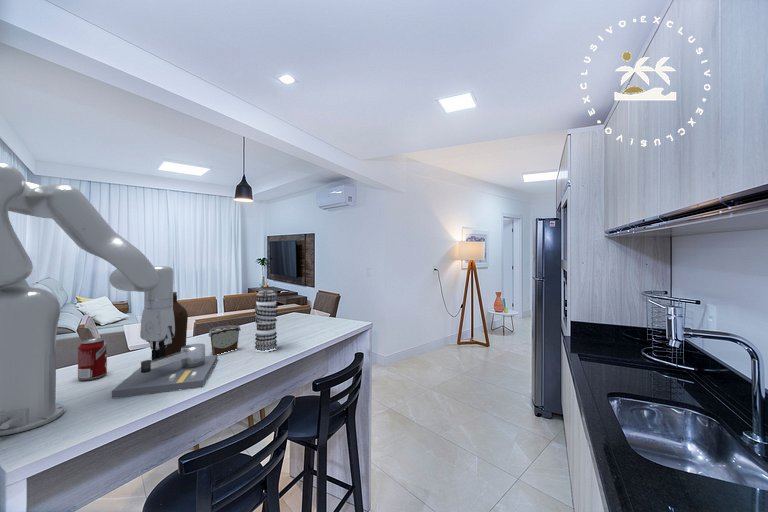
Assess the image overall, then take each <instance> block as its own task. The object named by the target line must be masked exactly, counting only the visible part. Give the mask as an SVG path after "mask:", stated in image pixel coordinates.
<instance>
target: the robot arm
mask: <svg viewBox="0 0 768 512" xmlns="http://www.w3.org/2000/svg"><path fill="white" fill-rule="evenodd" d="M9 212H12V213H17V214H20V215H25V216H29V217H35V218H41V219H50V220H51V219H52V220H53V221H54V222H55V224H57V225H58V226H59V227H60V228H61V230H62V231H63V232H64V233H65V234H66V235H67V236H68V238H70V240H71V241H73V242H74V244H75V245H76V246H78V248H80V249H81V250H83V251H85V252H86V253H88V254H90V255H93V256H96V257H97V258H100V259H102V260H104V261H106V262H108V263H109V264H110V265H111V266H113V267H114V268H115V269H114V270H113V271H112V272H111V273H110V274H109V280H108V281H109V283H110V285H111V286H112V287H113V288H115V289H117V290H119V291H123V292H139V293H144V297H143V298H144V300H143V304H144V305H143V310H142V314H141V319H140V331H139V332H140V333H139V334H140V338H141V339H142V340H144V341H145V342H147V343H149V346H150V349H151V360H154V359H158V358H161V357H164V356H165V348H166V347H167V344H170V343H172V338H173V337H174V335H175V320H174V312H173V292H174V269H173V268H172V266H165V265H164V266H163V265H161V266H160V265H159V266H157V265H156V266H155V265H153V264H152V262H151V261H150V260H149V258H148V257H146V255H145V254H144V253H142V251H141V250H140V249H139V248H138V247H136V246H135V245H133V244H132V243H131V242H129V241H128V240H127V239H125V238H124V237H123V236H121V235H120V234H119V233H117V232H116V231H115V230H114V229H113V228H112V227H111V225H109V223H108V222H107V221H106V219H104V217H103V216H102V215H101V214H100V212H99V211H98V210H97V209H96V208H95V207H94V205H93V204H92V203H91V202H90V200H89V199H88V198H87V196H85V195H84V194H83V192H82V191H80V190H79V189H78V188H76V187H75V186H73V185H69V184H62V183H56V184H48V185H42V184H38V183H35V182H34V183H33V182H29V181H26V179H25V176H24V175H23V173H22V172H21V171H20V170H19V169H18V168H16V167H15V166H13V165H11V164H9V163H5V162H2V161H0V436H1V437H2V436H9V435H13V434H17V433H22V432H26V431H30V430H32V429H35V428H39V427H40V426H44V425H46V424H48V423H51V422H53V421H54V420H55V421H56V420H57V419H58V418H60V417H61V416H62V415H63V414H64V413H65V406H64V405H63V404H59V403H57V402H56V399H57V398H56V397H57V396H56V393H57V391H56V389H57V388H56V387H57V385H56V384H57V331H58V326H59V321H60V315H61V303H60V301H59V299H58V298H57V296H56V295H55V294H53V293H52V292H50V291H48V290H46V289H45V288H39V287H31V286H30V285H29V283H28V281H27V278H29V277H30V275H31V274H32V272H33V268H34V267H33V262H32V260H31V259H32V258H30V256H29V254H28V253H27V251H26V249H25V248H24V246H23V244H22V242H21V241H20V239H19V237H18V235H17V234H16V231H15V229H14V227H13V225H12V222H11V220H10V217H9Z"/></svg>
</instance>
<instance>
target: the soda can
mask: <svg viewBox="0 0 768 512" xmlns="http://www.w3.org/2000/svg"><path fill="white" fill-rule="evenodd" d="M107 373H108V343H107V342H106V341H105V338H103V337H96V338H95V337H94V338H89V339H84V340H82V341H81V342H80V345H79V346H78V347H77V379H78V380H81V381H85V380H86V381H92V379H93V380H96V378H97V379H100V378H102V377H104V376H105V375H106V374H107Z"/></svg>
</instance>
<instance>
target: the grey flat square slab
mask: <svg viewBox="0 0 768 512" xmlns="http://www.w3.org/2000/svg"><path fill="white" fill-rule="evenodd" d="M216 361H217V362H218V355H205V363H204V364H202V365H200V366H196V367H190V368H184V367H181V360H178V361H175V362H172V363H169V364H166V365H163V366H160V367H157V368H154V369H151V371H150V372H147V373H141V366H139V368H138V369H136V370H135V371H134V372H133V373H132V374H131V375H129V376H128V377H127V378H126V379H124V380H123V381H122V382H121V383H120V384H118V385H117V386H115V388H114V389H112V390H111V399H116V398H118V399H119V398H125V397H130V396H131V397H132V396H141V395H147V394H148V395H149V394H150V395H151V394H158V393H165V392H174V391H180V390H179V389H182V390H188V388H191V389H198V388H197V387H199V388H203V387H204V386H205V384H206V382H207V380H208V379H209V377H208V376H210V375H209V374H211V373H212V371H213V369H214V368H215V366H214V365H216V364H217V362H216ZM215 363H216V364H215ZM203 385H204V386H203ZM173 390H174V391H173ZM157 392H158V393H157Z"/></svg>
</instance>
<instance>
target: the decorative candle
mask: <svg viewBox="0 0 768 512" xmlns="http://www.w3.org/2000/svg"><path fill="white" fill-rule="evenodd" d="M255 295H256V301H255V304H256V306H255V307H254V314H255V316H254V318H255V320H254V322H255V324H256V329H255V334H254V335H255V338H254V339H255V341H254V344H255V346H254V348H255V350H256V349H257V350H260V351H265V350H270V349H274V348H275V347H276V348H277V346H278V344H277V342H278V340H277V337H278V336H277V334H278V332H277V327H276V326H277V325H276V323H277V322H278V319H277V318H276V317H278V310H276V309H277V308H278V307H279V306H278V303H277V293H276V292H275V291H274V290H272V289H261V290H259V291H257V293H256V294H255Z"/></svg>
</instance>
